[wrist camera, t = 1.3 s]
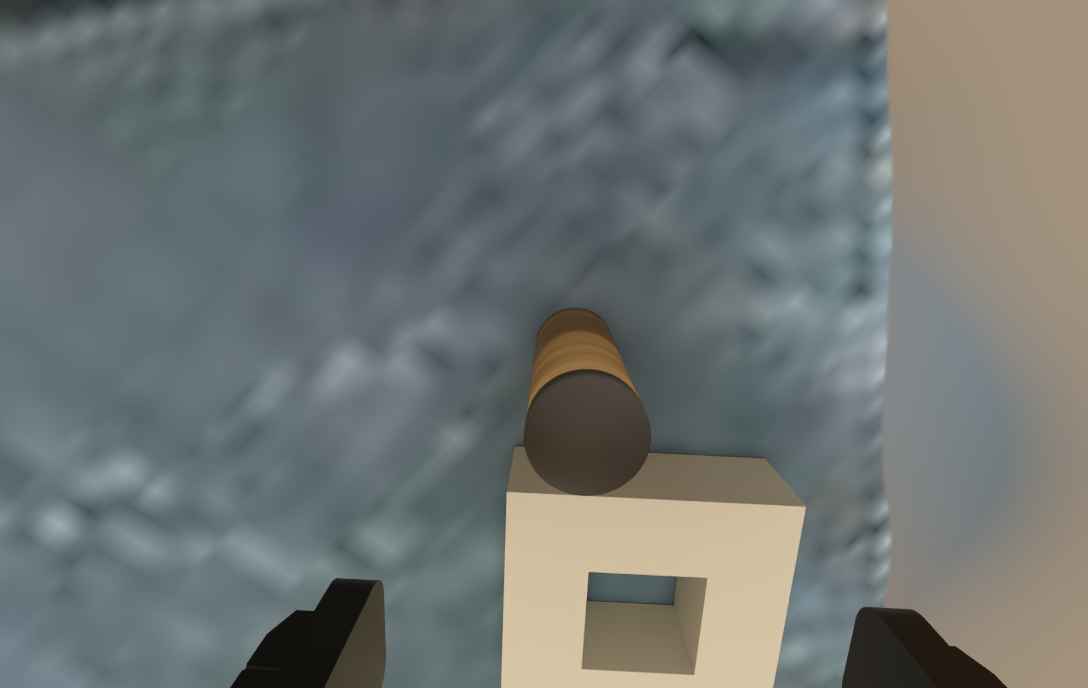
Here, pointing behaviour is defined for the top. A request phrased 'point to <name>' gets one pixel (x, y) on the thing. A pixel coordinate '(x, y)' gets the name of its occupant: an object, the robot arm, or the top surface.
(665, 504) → the socket block
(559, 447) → the peg
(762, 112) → the top surface
